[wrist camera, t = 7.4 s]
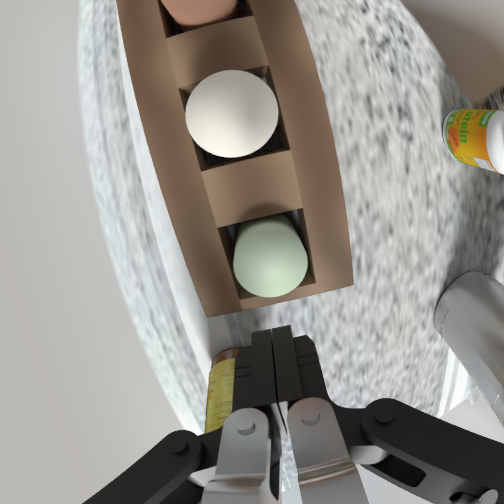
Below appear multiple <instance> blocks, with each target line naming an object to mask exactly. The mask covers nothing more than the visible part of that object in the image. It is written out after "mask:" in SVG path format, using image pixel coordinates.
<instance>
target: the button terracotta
mask: <svg viewBox="0 0 504 504" xmlns="http://www.w3.org/2000/svg"><path fill="white" fill-rule="evenodd" d="M161 1H162V3H163V4H164V6H165V7H166V8H167V10H168V11H169V13H170V14H171V16H172V17H173V18H174V20H175V21H176V23H177V24H178V26H179V27H180V28H181V29H182V30H183V31H184V32H188V31H191V30H194V29H198V28H201V27H205V26H208V25H212V24H216V23H220V22H224V21H229V20H233V19H236V18H237V15H238V0H161Z"/></svg>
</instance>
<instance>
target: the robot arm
mask: <svg viewBox="0 0 504 504" xmlns="http://www.w3.org/2000/svg"><path fill="white" fill-rule="evenodd" d="M434 324H435V328H436V329H437V331H438V332H439V333H440V335H441V336H442V337H443V339H444V340H445V341H446V343H447V344H448V345H449V347H450V348H451V350H452V351H453V352H454V354H455V355H456V356H457V358H458V359H459V360H460V362H461V363H462V365H463V366H464V367H465V369H466V370H467V372H468V373H469V375H470V376H471V377H472V379H473V380H474V382H475V383H476V385H477V386H478V388H479V389H480V391H481V392H482V394H483V395H484V397H485V398H486V400H487V402H488V403H489V404H490V406H491V408H492V409H493V411H494V412H495V414H496V416H497V418H498V419H499V421H500V423H501V424H502V426H503V428H504V286H503V285H502V284H501V283H500V282H498V281H497V280H496V279H495V278H494V277H492V276H491V275H490V274H487V275H483V274H481V273H480V272H477V271H470V272H468V273H465V274H463V275H462V276H460V277H459V278H457V279H456V280H455V281H454V282H453V283H452V284H451V285H450V286H449V287H448V288H447V290H446V291H445V293H444V294H443V295H442V297H441V299H440V301H439V303H438V305H437V308H436V311H435V315H434ZM234 369H235V370H234V382H233V400H232V412H231V414H230V415H229V416H228V417H227V419H226V420H225V422H224V425H223V426H221V427H220V428H218V429H216V430H214V431H211V432H208V433H205V434H202V435H199V436H197V435H196V434H194V433H193V432H191V431H187V430H178V431H174V432H172V433H170V434H168V435H167V436H166V437H165V438H164V439H162V440H161V441H160V442H159V443H158V444H157V445H155V446H154V447H153V448H152V449H151V450H150V451H148V452H147V453H146V454H145V455H144V456H143V457H141V458H140V459H139V460H138V461H137V462H135V463H134V464H133V465H132V466H131V467H129V468H128V469H127V470H126V471H125V472H123V473H122V474H121V475H120V476H118V477H117V478H116V479H114V480H113V481H112V482H110V483H109V484H108V485H107V486H105V487H104V488H103V489H101V490H100V491H99V492H97V493H96V494H95V495H93V496H92V497H91V498H89V499H88V500H86V501H85V502H84V503H82V504H282V502H281V501H282V500H281V496H282V447H281V439H284V438H288V436H287V431H288V434H289V437H290V438H291V443H292V448H293V453H294V458H295V462H296V467H297V472H298V481H299V487H300V492H301V497H302V502H303V504H369V502H368V499H367V496H366V493H365V491H364V487H363V484H362V481H361V478H360V475H359V473H358V470H357V468H356V465H355V464H360V465H361V466H362V467H364V468H366V469H367V470H369V471H371V472H373V473H374V474H376V475H378V476H380V477H382V478H383V479H385V480H387V481H389V482H391V483H392V484H395V485H396V486H398V487H400V488H402V489H404V490H406V491H408V492H410V493H412V494H414V495H416V496H419V497H421V498H423V499H425V500H427V501H429V502H431V503H434V504H504V444H503V443H500V442H497V441H495V440H492V439H489V438H486V437H483V436H481V435H478V434H476V433H473V432H470V431H468V430H465V429H463V428H460V427H458V426H455V425H452V424H450V423H448V422H445V421H443V420H441V419H438V418H436V417H433V416H431V415H429V414H427V413H424V412H422V411H420V410H417V409H415V408H413V407H411V406H409V405H406V404H404V403H402V402H400V401H398V400H395V399H391V398H382V399H378V400H375V401H373V402H371V403H370V404H369V405H368V406H367V407H366V408H344V407H341V406H338V405H336V404H335V403H334V402H332V401H331V399H330V398H329V396H328V394H327V390H326V386H325V382H324V378H323V374H322V370H321V366H320V363H319V359H318V355H317V351H316V347H315V344H314V342H313V341H312V340H311V339H310V338H309V337H308V336H307V335H303V336H299V337H294V338H293V335H292V330H291V326H290V325H287V326H282V327H277V328H272V331H271V329H267V330H262V331H257V332H252V346H247V347H241V348H240V350H239V352H238V353H237V355H236V357H235V365H234Z"/></svg>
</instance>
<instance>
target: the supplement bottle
mask: <svg viewBox="0 0 504 504" xmlns="http://www.w3.org/2000/svg"><path fill="white" fill-rule="evenodd" d="M443 139H444V143H445V146H446V149H447V150H448V152H449V154H450V155H451V156H452V157H453V158H454V159H455V160H457V161H459V162H462V163H465V164H469V165H473V166H477V167H480V168H484V169H487V170H491V171H494V172H497V173H500V174H504V111H501V110H481V109H456V110H453V111H451V112H450V113H449V114H448V115H447V117H446V118H445V121H444V125H443Z"/></svg>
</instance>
